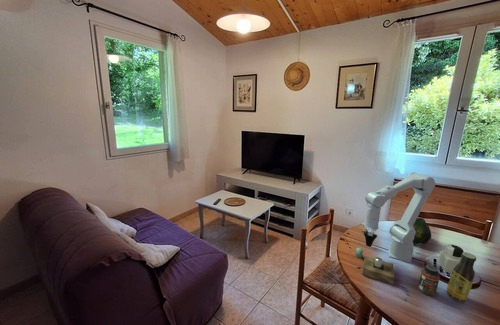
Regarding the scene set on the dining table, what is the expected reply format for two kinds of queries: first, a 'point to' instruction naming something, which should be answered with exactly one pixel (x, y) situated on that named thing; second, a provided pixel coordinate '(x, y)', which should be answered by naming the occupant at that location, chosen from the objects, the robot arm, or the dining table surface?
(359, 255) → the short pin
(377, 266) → the long pin
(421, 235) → the squash
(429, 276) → the supplement bottle
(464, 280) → the sauce bottle
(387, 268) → the hole block
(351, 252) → the dining table surface
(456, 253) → the medicine bottle
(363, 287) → the dining table surface
